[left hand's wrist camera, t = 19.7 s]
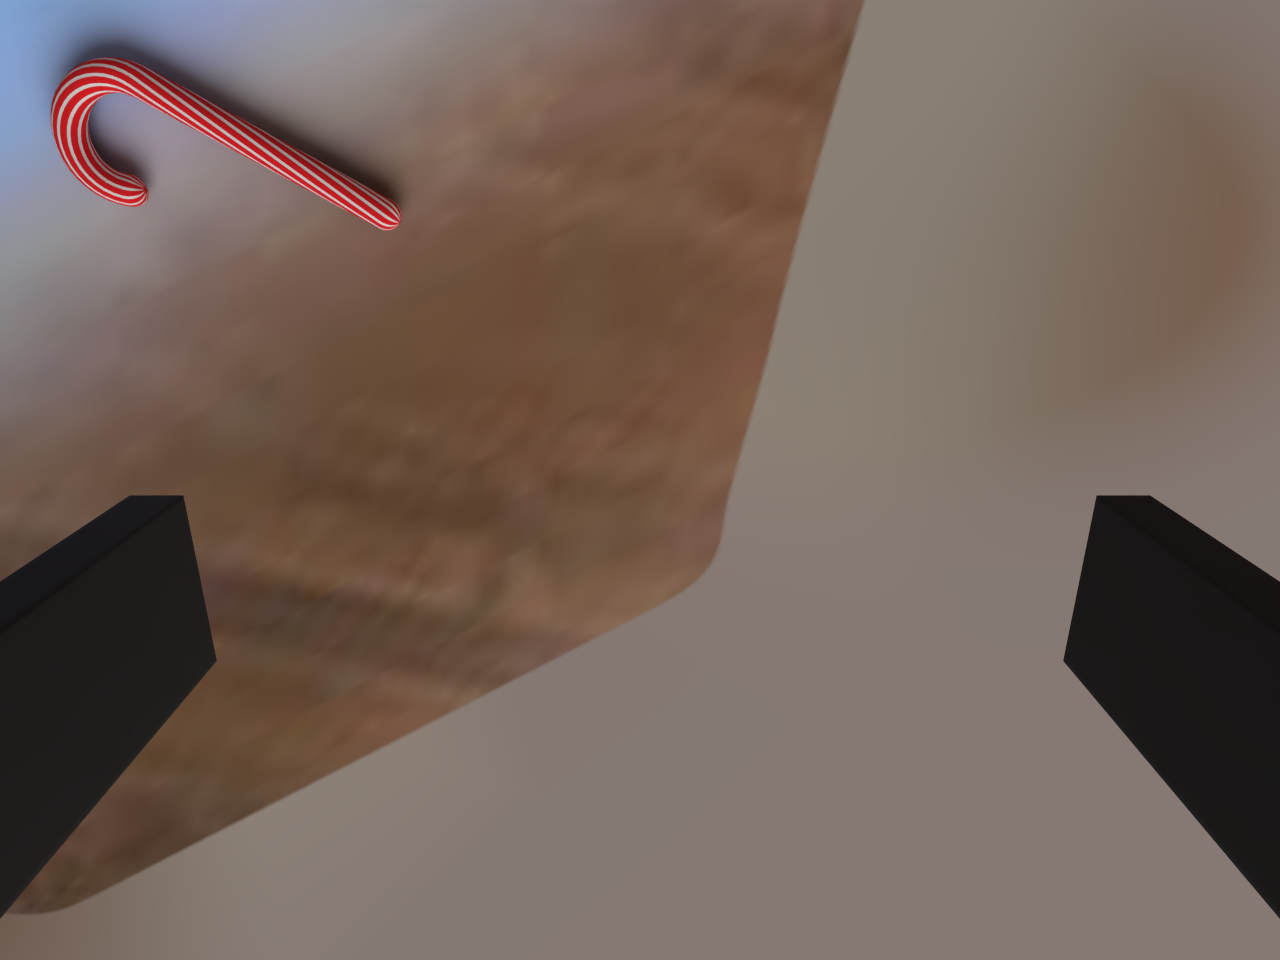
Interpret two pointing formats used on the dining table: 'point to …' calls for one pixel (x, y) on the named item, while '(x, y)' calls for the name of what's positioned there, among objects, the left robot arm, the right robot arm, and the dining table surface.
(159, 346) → the dining table surface
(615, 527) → the dining table surface
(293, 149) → the candy cane
